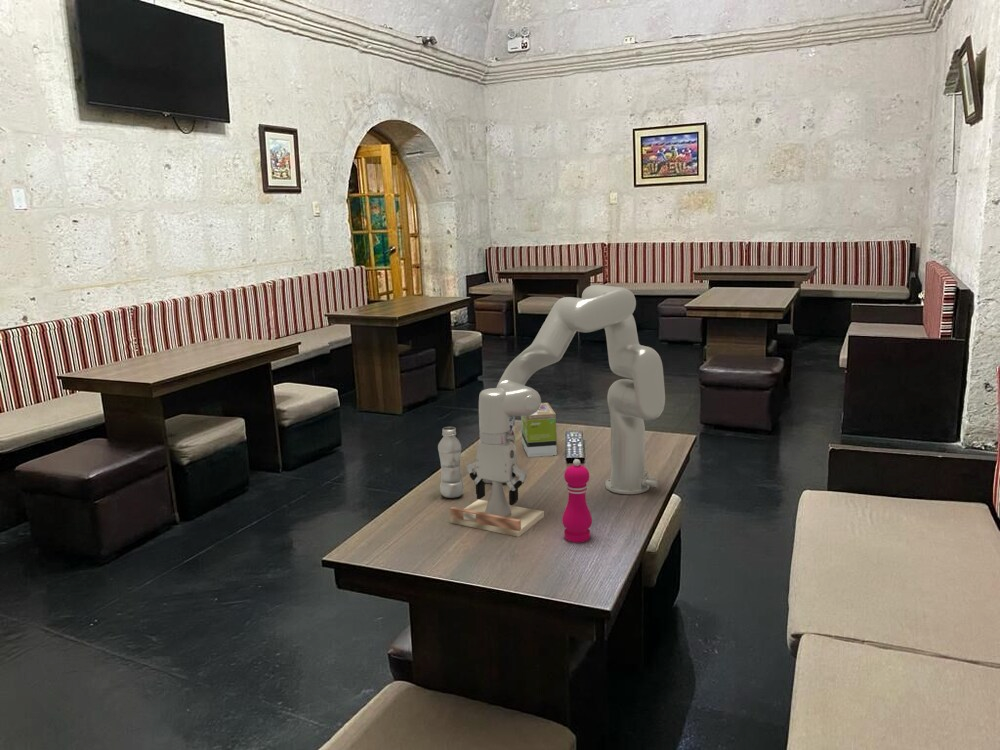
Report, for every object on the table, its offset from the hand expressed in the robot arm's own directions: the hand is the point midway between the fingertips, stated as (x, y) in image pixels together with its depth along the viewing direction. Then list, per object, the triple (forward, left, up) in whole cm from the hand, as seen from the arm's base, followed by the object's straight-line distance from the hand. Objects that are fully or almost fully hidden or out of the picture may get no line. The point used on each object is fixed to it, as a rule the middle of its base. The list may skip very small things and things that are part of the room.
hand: (497, 500), depth 194 cm
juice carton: (+15, -27, -5) cm, 31 cm away
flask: (0, 0, -4) cm, 4 cm away
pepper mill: (-23, +1, -5) cm, 24 cm away
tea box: (+17, -58, -6) cm, 61 cm away
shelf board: (0, 0, -5) cm, 5 cm away
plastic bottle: (+20, -9, -5) cm, 23 cm away
